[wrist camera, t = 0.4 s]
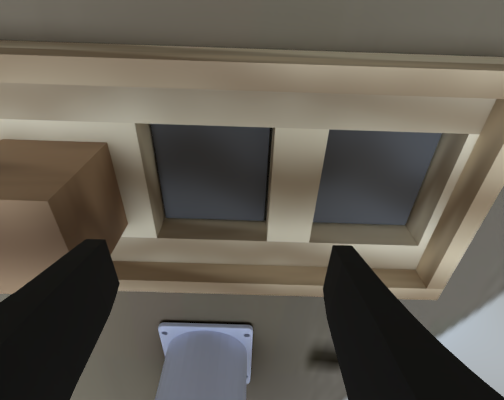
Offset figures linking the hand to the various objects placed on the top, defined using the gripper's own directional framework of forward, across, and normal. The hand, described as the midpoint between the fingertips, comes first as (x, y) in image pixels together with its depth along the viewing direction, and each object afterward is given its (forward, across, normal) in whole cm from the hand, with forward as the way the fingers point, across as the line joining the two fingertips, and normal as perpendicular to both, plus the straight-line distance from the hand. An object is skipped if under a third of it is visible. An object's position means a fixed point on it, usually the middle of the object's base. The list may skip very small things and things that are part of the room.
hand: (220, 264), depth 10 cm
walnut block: (+6, +8, +1) cm, 11 cm away
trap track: (+8, +4, +1) cm, 9 cm away
